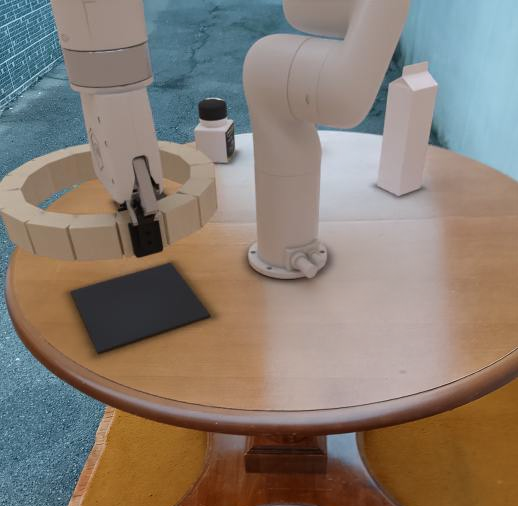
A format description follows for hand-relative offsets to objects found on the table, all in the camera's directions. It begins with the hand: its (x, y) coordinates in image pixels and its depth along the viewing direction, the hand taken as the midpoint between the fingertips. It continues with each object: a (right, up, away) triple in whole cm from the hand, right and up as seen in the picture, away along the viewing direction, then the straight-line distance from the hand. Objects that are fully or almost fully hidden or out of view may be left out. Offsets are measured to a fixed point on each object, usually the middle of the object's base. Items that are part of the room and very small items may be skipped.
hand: (143, 244), depth 60 cm
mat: (-5, -5, +18) cm, 19 cm away
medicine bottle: (+3, +31, +61) cm, 68 cm away
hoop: (-5, +6, +8) cm, 12 cm away
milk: (+40, +20, +45) cm, 64 cm away
